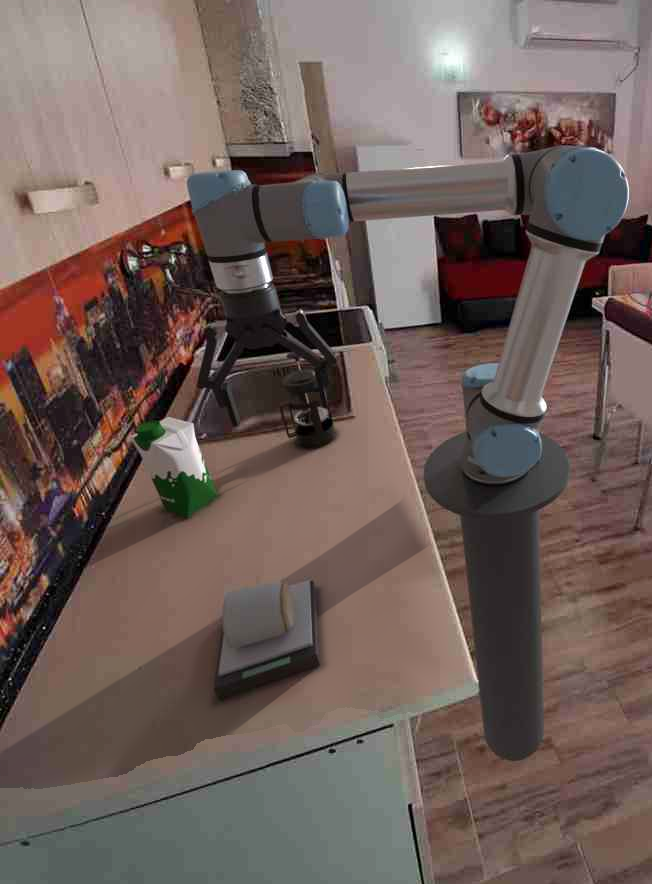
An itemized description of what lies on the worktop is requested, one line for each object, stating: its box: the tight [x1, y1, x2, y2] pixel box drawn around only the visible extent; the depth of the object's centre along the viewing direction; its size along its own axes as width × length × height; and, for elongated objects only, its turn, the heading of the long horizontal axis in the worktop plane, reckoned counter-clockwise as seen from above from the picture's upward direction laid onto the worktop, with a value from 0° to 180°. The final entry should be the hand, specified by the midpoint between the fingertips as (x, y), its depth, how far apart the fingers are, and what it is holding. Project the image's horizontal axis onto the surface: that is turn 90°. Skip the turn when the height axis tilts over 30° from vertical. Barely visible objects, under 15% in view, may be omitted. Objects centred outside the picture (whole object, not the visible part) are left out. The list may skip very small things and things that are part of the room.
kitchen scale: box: [213, 579, 321, 701], centre depth 75 cm, size 13×14×3 cm
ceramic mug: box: [221, 581, 294, 649], centre depth 74 cm, size 11×8×8 cm
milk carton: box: [129, 416, 219, 518], centre depth 101 cm, size 9×9×20 cm
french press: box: [278, 351, 337, 449], centre depth 121 cm, size 12×9×23 cm
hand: (281, 413), depth 83 cm, fingers open, 13 cm apart
